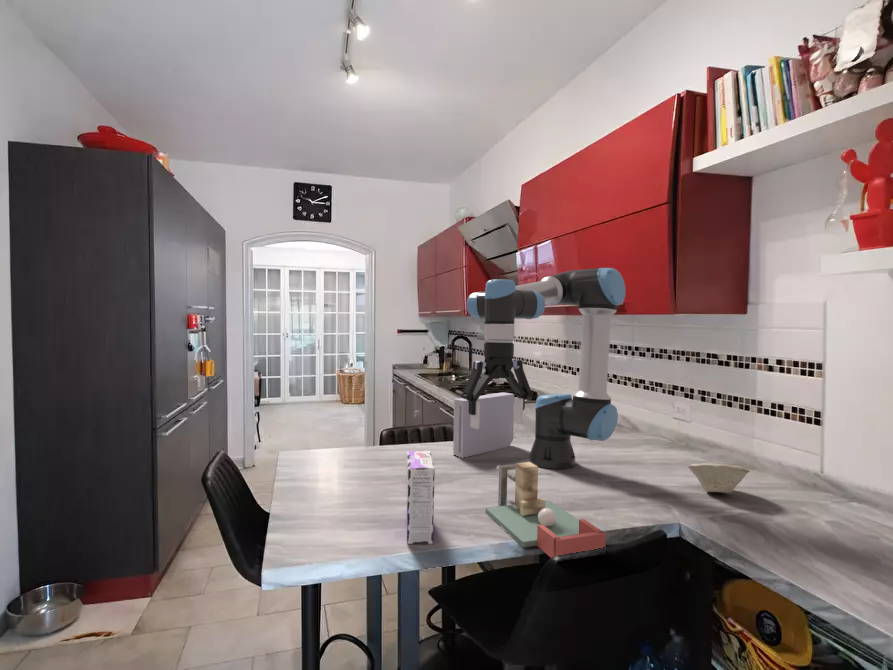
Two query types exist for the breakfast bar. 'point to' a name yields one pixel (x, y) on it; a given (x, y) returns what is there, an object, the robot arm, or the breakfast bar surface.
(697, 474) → the bowl
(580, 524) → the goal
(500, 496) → the metal rectangular frame
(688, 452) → the breakfast bar surface
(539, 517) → the ball
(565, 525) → the pitch board
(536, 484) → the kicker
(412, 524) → the candy box
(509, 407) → the game console
